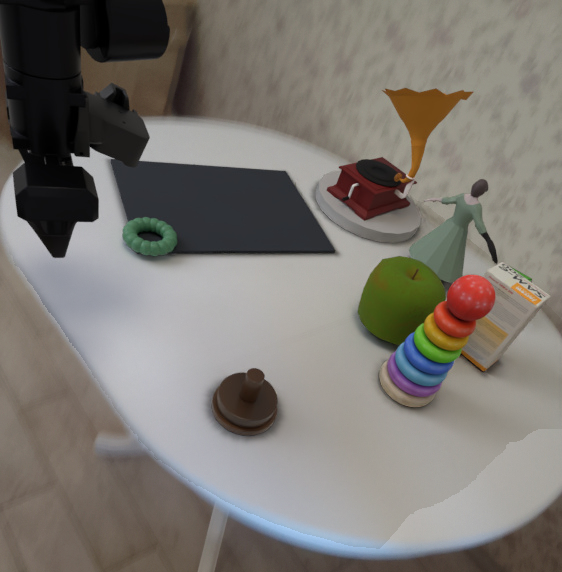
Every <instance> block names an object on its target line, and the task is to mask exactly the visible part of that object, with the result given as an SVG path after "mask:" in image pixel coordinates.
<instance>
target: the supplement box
mask: <svg viewBox="0 0 562 572" xmlns="http://www.w3.org/2000/svg"><path fill="white" fill-rule="evenodd" d="M509 266H510V265H508V264H506V263H505V262H504V261H501V262H498V263H497V264H495V265H494V266H492V267H490V268H488V269H487V270H486V271H485V273H484V275H483V276H482V277H484V278H485V279H487V280H488V281H489V282H490V283H491V284H492V286H493V288H494V290H495V296H496V298H495V303H494V306H493V308H492V309H491V311H490V312H489V313H488V314H487V315H486V316H484V317H483V318H481V319H478V320H476V328H475V330H474V332H473V333H472V334H470V335H469V339H468V342H467V344H466V345H465V346H464V347H463V348H462V351H461V354H460V355H462V356H463V357H465V358H466V359H467V360H469V361H470V362H471V363H472V364H473V365H475V366H476V367H477V368H478V369H480V371H482V372H486V371H487V370H488V369H489V368H490V367H492V366H493V365H494V364H495V363H496V362H498V360H500V359H501V357H502V356H503V354H505V352H506V351H507V350H508V349H509V347H510V346H511V345H512V344H513V343H514V341H515V340H516V339H517V338H518V337H519V336H520V334H521V333H522V332H523V331H524V330H525V328H526V327H528V325H529V324H530V322H531V321H532V320H533V318H535V316H536V315H537V314H538V313H539V312H540V311H541V309H542V308H543V307H544V306H545V304H546V303H547V302H548V301H549V299H550V298H551V297H552V296H551V295H550V294H548V293H547V292H546V291H545V290H543V289H542V288H541V287H539V286H537V285H536V284H535V283H533V281H532V282H530V281H529V280H527V279H526V278H525V277H523V276H522V275H520V274H519V273H517V272H516V271H515V270H513V269H512V268H513V267H512V266H510V267H509ZM511 267H512V268H511Z"/></svg>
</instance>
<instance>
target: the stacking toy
mask: <svg viewBox="0 0 562 572" xmlns="http://www.w3.org/2000/svg"><path fill="white" fill-rule="evenodd" d="M495 298H496V296H495V290H494V288H493V286H492V284H491V283H490V282H489V281H488V280H487V279H485V278H484V277H483V276H481V275H479V274H466V275H462V277H460V278H458V279H457V280H456V281H455V282H452V283H451V285H450V286H449V288H448V290H447V293H446V300H445V301H443V302H441V303H439V304H438V305H437V306H436V308H435V310H434V313H431V314H430V315H429V316H428V317H427V318H426V319H425V322H424V323H423V324H421V325H420V326H418V328H417V329H416V330H415V332H413V333H411V334H410V335H409V336H408V337H407V338H406V340H405V342H403V343H402V344H401V345H398V346H397V348H396V350H394V352H391V353H392V354H390V356H389V358H387V360H385V361H384V362H383V363H382V364H381V366H380V368H379V369H380V370H379V372H378V378H379V383H380V385H381V387H382V389H383V390H384V392H385V393H386V394H387V395H388V396H389V398H390V399H392V400H394V401H395V402H397V403H398V404H400V405H403V406H406V407H410V408H420V407H424V406H426V405H428V404H429V403H431V402H432V401H433V400H434V399H435V396H436V394H437V393H438V392H439V390H440V389H441V387H442V385H443V382H444V381H445V380H446V378H447V376H448V373H449V371H450V370H451V369H452V368H453V366H454V365H455V361H456V360H457V359H459V357H460V356H461V355H462V354H461V351H462V348H463V347H464V346H465V345H466V344H467V342H468V339H469V335H470V334H472V333H473V332H474V330H475V328H476V320H478V319H481V318H483V317H484V316H486V315H487V314H488V313H489V312H490V311H491V309H492V308H493V306H494V303H495Z"/></svg>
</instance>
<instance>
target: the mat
mask: <svg viewBox="0 0 562 572" xmlns="http://www.w3.org/2000/svg"><path fill="white" fill-rule="evenodd" d="M110 164H111V167H112V171H113V174H114V179H115V181H116V184H117V188H118V191H119V196H120V198H121V202H122V205H123V208H124V209H123V210H124V212H125V216H126V219H127V223H128V222H129V221H131V220H134V219H135V218H143V217H148V218H150V219H151V218H156V219H158V220H159V221H164V222H166V223H167V225H170V226H171V227H172V228H173V230H174V231H175V232H176V234H177V245H176V246H175V247H174V249H173V250H172V251H171V252H168V253H167V254H168V255H169V254H170V255H171V254H172V255H173V254H174V255H175V254H176V255H177V254H183V255H184V254H187V255H188V254H335V253H336V249H335V247H334V245H333V244H332V243H331V241H330V239H329V237H328V236H327V235H326V233H325V231H324V230H323V228H322V227H321V225H320V223H319V221H318V220H317V218H316V217H315V215H314V213H313V212H312V210H311V209H310V207H309V206H308V204H307V202H306V201H305V199H304V198H303V196H302V195H301V193H300V191H299V190H298V188H297V187H296V185H295V184H294V181H293V180H292V178H291V177H290V176H289V173H288V172H287V171H286V170H277V169H264V168H263V169H262V168H248V167H247V168H246V167H233V166H222V165H221V166H220V165H206V164H204V165H203V164H191V163H178V162H177V163H175V162H162V161H147V160H139V162H138V164H137V166H136V167H134V168H132V167H128V166H126V165H124V164H123V162H121V161H119V160H116V159H114V158H110ZM137 235H138V236H139V238H142V239H143V240H147V241H150V242H152V241H155V242H158V241H160V240H162V239H163V237H162V236H161V235H159V234H157V233H156V232H151V231H143V232H139V233H138V234H137ZM136 253H137V255H143V254H142V253H141V252H140V253H138V252H136ZM167 254H166V255H167Z"/></svg>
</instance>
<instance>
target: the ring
mask: <svg viewBox="0 0 562 572" xmlns="http://www.w3.org/2000/svg"><path fill="white" fill-rule="evenodd" d="M143 231H151V232H156V233H157V234H159V235H161V236H162V237H163V239H162V240H160V241H158V242H155V241H152V242H150V241H147V240H143V239H142V238H139V236H138V235H137V234H138V233H139V232H143ZM122 240H123V241H124V242H125V245H126V246H127V247H128V248H130V249H132V251H134V252H135V253H137V252H138V253H140V252H141V253H142V254H141V255H143V256H151V257H158V256H166V255H167V253H168V252H171V251H172V250H173V249H174V247H175V246H176V245H177V234H176V232H175V231H174V230H173V228H172V227H171V226H170V225H167V223H166V222H164V221H159V220H158V219H156V218H151V219H150V218H148V217H143V218H135V219H134V220H131V221H129V222H128V221H127V223H126V224H125V225H124V226H123V228H122Z"/></svg>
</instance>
